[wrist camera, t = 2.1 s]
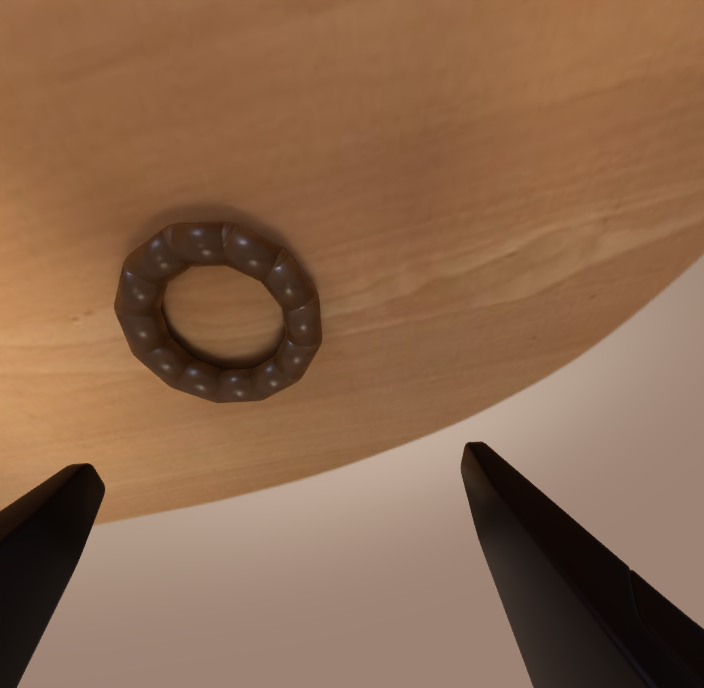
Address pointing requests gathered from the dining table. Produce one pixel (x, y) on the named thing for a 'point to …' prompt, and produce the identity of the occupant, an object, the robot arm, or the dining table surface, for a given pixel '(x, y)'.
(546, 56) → the dining table surface
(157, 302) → the ring
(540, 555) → the robot arm
